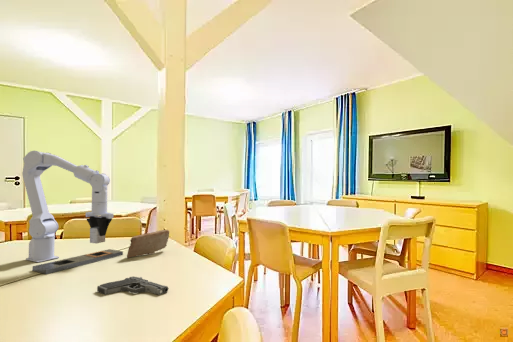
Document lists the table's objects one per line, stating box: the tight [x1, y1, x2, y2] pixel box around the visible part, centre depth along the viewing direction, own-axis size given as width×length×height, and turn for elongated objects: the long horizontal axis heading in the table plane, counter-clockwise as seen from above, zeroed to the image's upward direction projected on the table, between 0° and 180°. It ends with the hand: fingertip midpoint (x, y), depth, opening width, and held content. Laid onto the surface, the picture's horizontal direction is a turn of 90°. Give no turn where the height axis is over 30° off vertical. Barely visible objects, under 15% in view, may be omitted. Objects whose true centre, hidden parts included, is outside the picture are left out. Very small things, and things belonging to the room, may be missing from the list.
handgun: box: [96, 276, 169, 296], centre depth 85 cm, size 2×17×12 cm
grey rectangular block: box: [89, 227, 106, 244], centre depth 122 cm, size 4×4×6 cm
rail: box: [31, 248, 124, 275], centre depth 116 cm, size 9×30×2 cm, turn 152°
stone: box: [126, 229, 170, 259], centre depth 128 cm, size 19×10×4 cm
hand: (99, 235), depth 122 cm, fingers closed on grey rectangular block, 4 cm apart
